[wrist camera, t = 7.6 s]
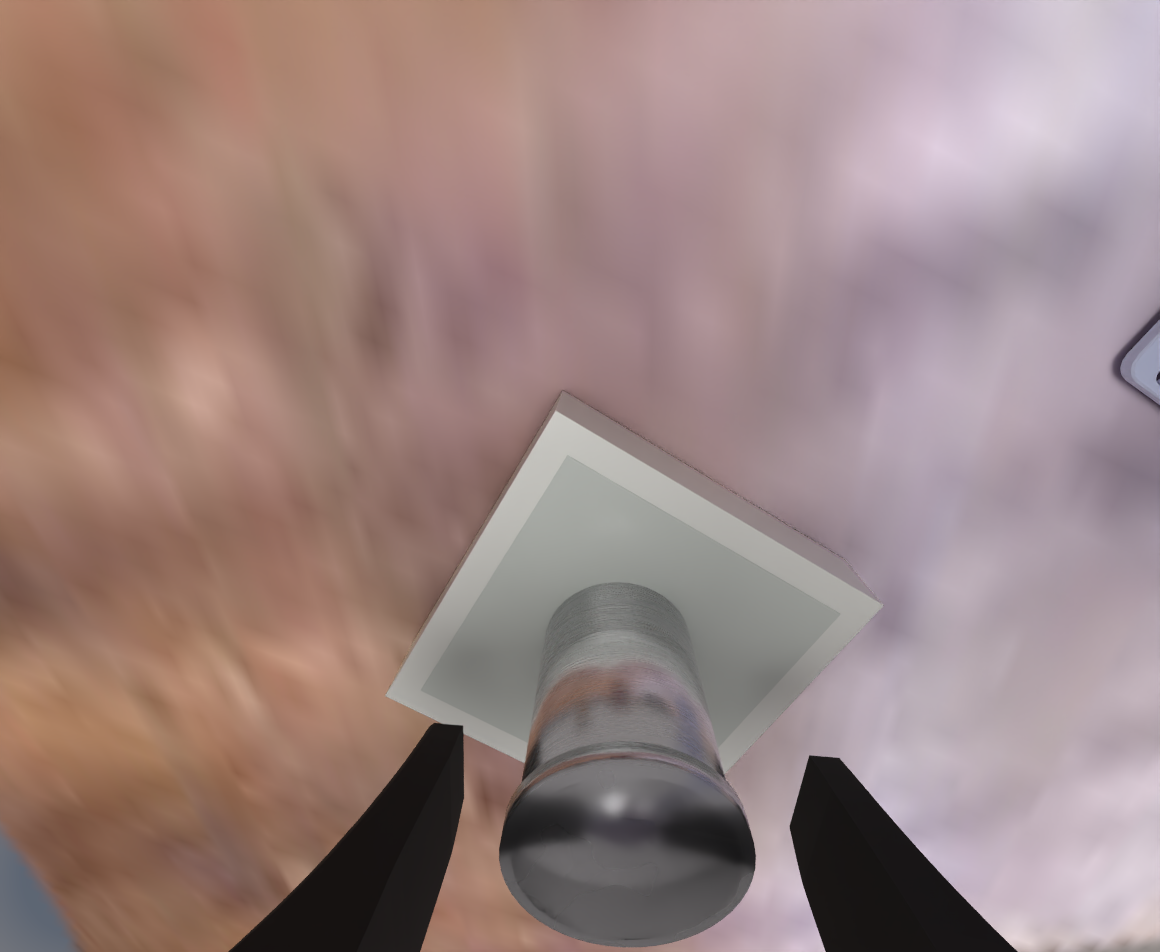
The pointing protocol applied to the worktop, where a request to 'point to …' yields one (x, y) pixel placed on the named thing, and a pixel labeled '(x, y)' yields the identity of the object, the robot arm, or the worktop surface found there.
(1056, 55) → the worktop surface
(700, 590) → the base slab
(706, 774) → the jigger
